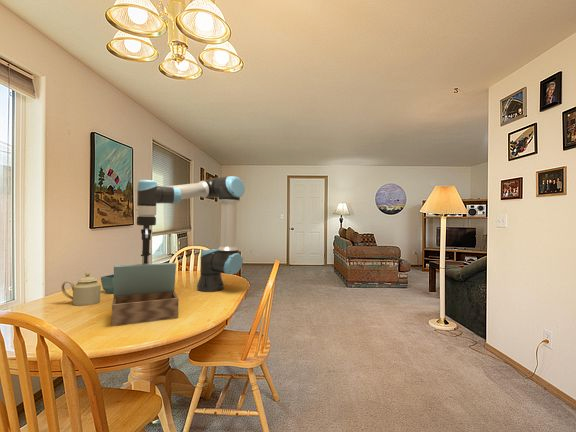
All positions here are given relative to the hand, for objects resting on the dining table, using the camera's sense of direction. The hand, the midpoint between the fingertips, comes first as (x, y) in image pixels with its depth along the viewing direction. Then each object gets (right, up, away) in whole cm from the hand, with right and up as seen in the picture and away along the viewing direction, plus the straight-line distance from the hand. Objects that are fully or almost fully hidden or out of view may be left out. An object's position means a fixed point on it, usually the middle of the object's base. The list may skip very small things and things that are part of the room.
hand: (145, 270), depth 133 cm
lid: (0, -4, 0) cm, 4 cm away
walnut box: (+2, -18, -4) cm, 19 cm away
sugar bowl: (-36, -18, +13) cm, 42 cm away
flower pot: (-34, -18, +35) cm, 51 cm away
